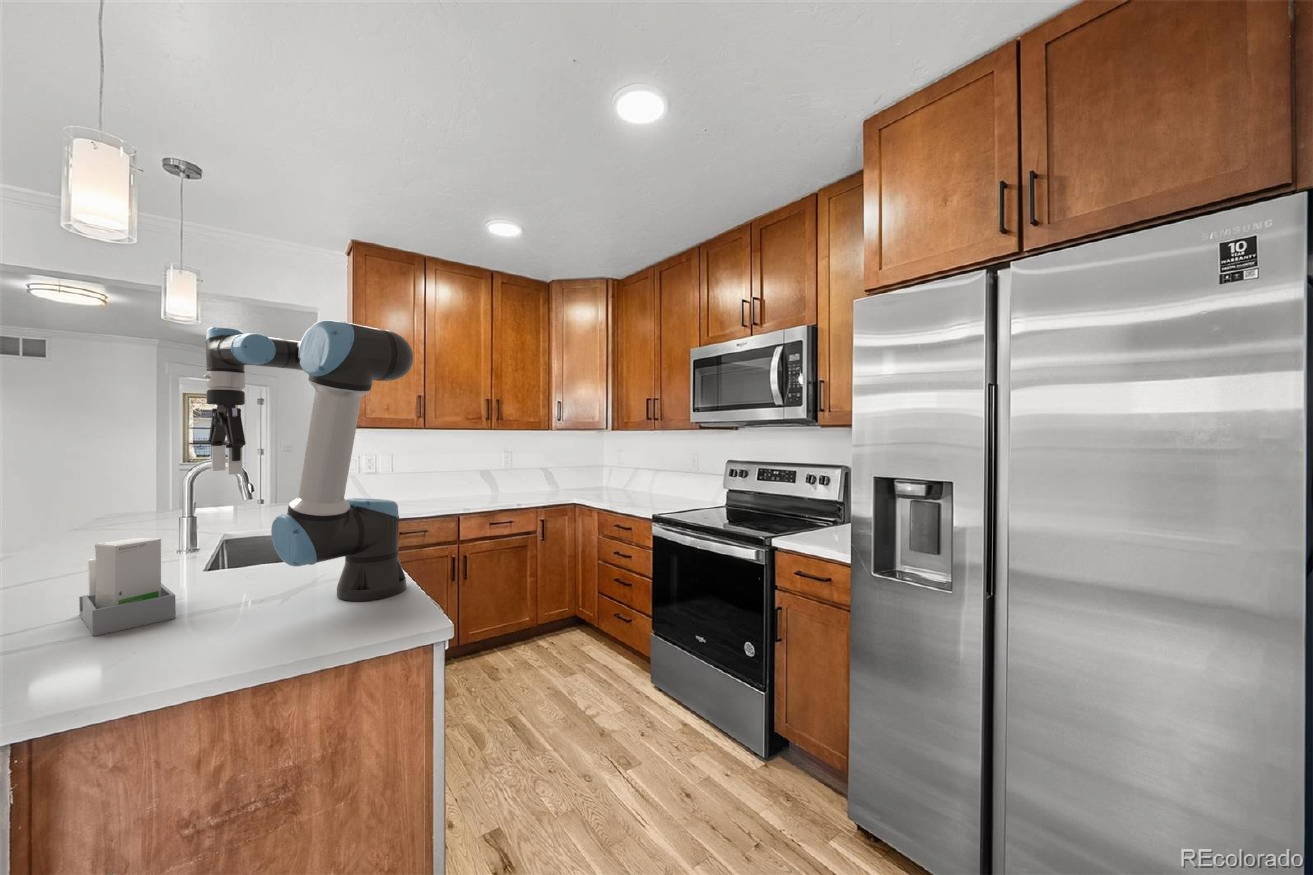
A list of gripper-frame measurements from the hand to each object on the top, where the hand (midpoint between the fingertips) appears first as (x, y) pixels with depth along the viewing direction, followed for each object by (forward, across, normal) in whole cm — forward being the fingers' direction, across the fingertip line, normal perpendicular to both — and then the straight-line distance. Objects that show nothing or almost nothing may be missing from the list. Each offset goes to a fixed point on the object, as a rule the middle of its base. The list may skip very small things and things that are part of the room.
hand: (226, 472), depth 133 cm
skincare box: (+28, +14, -20) cm, 37 cm away
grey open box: (+29, +12, -20) cm, 37 cm away
